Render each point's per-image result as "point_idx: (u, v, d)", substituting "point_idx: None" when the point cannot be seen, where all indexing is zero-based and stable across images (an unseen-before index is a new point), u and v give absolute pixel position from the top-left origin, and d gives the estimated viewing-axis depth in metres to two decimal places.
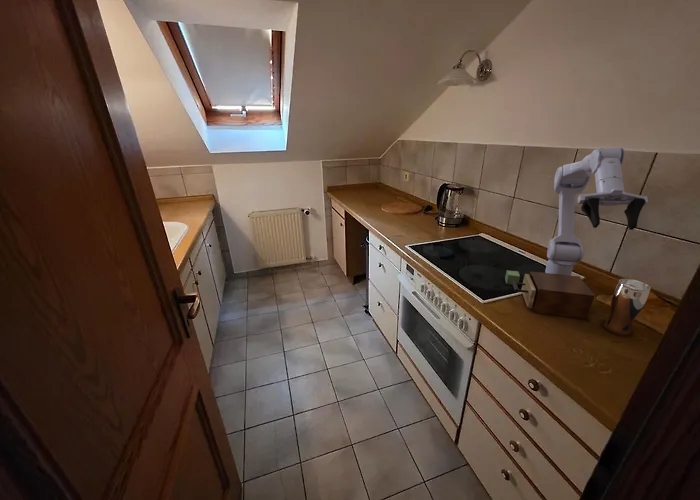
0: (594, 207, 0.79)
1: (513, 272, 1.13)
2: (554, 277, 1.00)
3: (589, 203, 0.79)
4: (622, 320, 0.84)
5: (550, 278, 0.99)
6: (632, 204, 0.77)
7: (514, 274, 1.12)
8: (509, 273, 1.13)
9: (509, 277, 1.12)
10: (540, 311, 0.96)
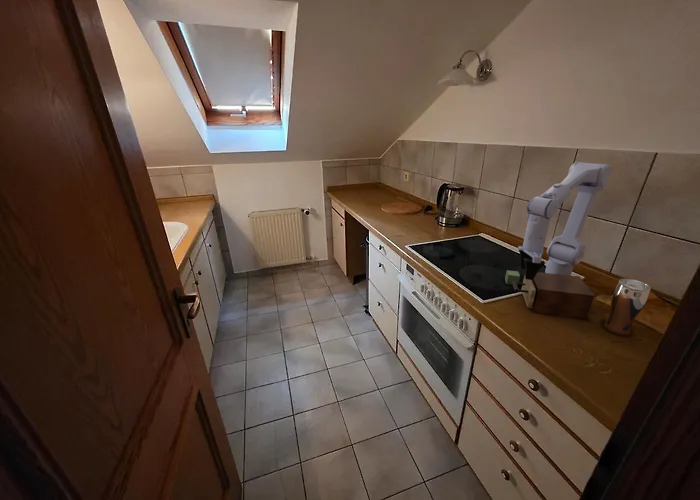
0: (520, 255, 1.02)
1: (513, 272, 1.13)
2: (554, 277, 1.00)
3: None
4: (622, 320, 0.84)
5: (550, 278, 0.99)
6: None
7: (514, 274, 1.12)
8: (509, 273, 1.13)
9: (509, 277, 1.12)
10: (540, 311, 0.96)
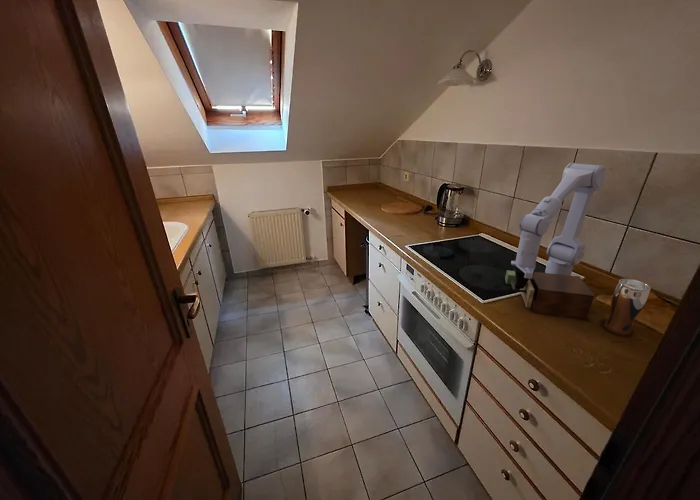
0: (515, 273, 1.01)
1: (513, 272, 1.13)
2: (554, 277, 1.00)
3: None
4: (622, 320, 0.84)
5: (550, 278, 0.99)
6: None
7: (514, 274, 1.12)
8: (509, 273, 1.13)
9: (509, 277, 1.12)
10: (540, 311, 0.96)
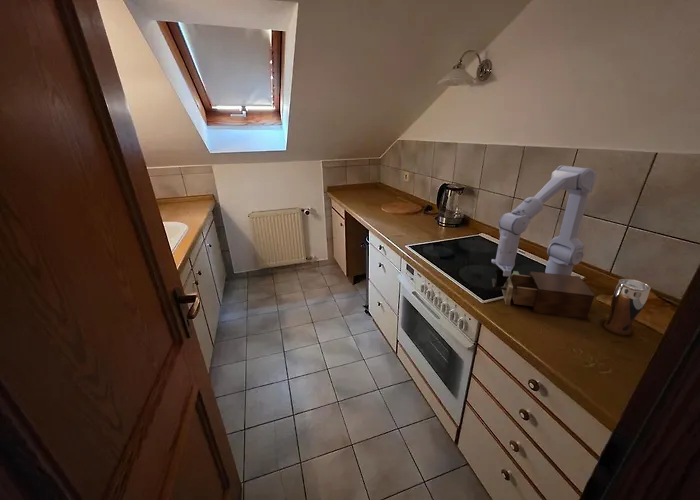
0: None
1: (513, 272, 1.13)
2: (554, 277, 1.00)
3: None
4: (622, 320, 0.84)
5: (550, 278, 0.99)
6: None
7: None
8: None
9: None
10: (540, 311, 0.96)
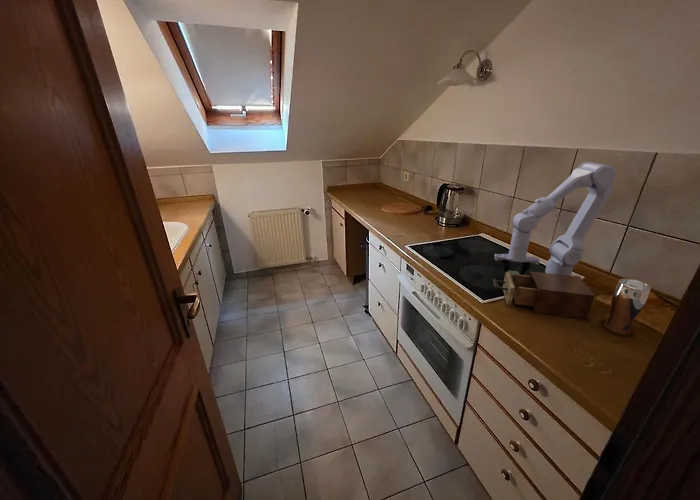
0: None
1: (513, 272, 1.13)
2: (554, 277, 1.00)
3: None
4: (622, 320, 0.84)
5: (550, 278, 0.99)
6: None
7: None
8: None
9: None
10: (540, 311, 0.96)
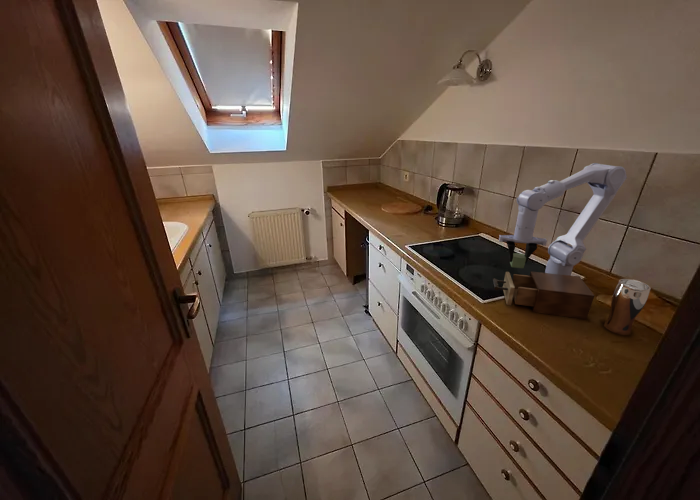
0: None
1: (518, 254, 1.07)
2: (554, 277, 1.00)
3: None
4: (622, 320, 0.84)
5: (550, 278, 0.99)
6: None
7: (520, 256, 1.06)
8: (514, 255, 1.06)
9: (514, 259, 1.06)
10: (540, 311, 0.96)
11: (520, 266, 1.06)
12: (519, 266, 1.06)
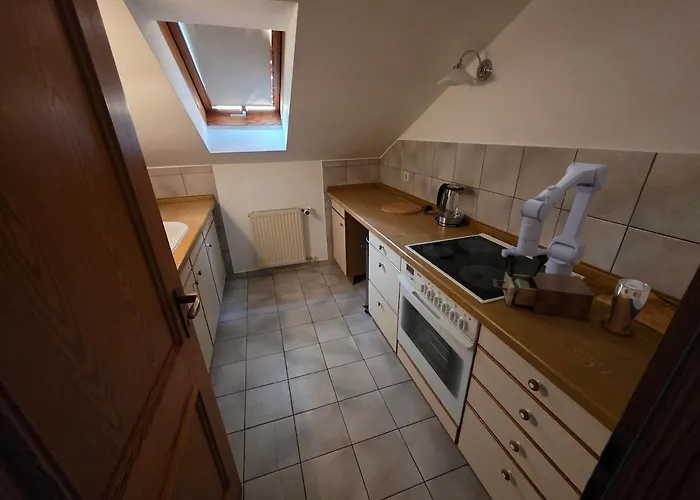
0: None
1: (524, 283, 1.00)
2: (554, 277, 1.00)
3: None
4: (622, 320, 0.84)
5: (550, 278, 0.99)
6: None
7: (526, 287, 0.99)
8: (521, 285, 0.99)
9: None
10: (540, 311, 0.96)
11: None
12: None
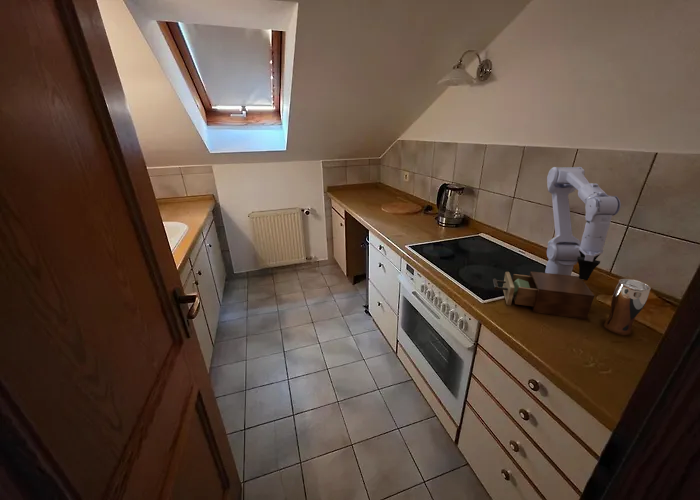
0: (581, 257, 1.00)
1: (524, 283, 1.00)
2: (554, 277, 1.00)
3: None
4: (622, 320, 0.84)
5: (550, 278, 0.99)
6: None
7: (526, 287, 0.99)
8: (521, 285, 0.99)
9: None
10: (540, 311, 0.96)
11: None
12: None
